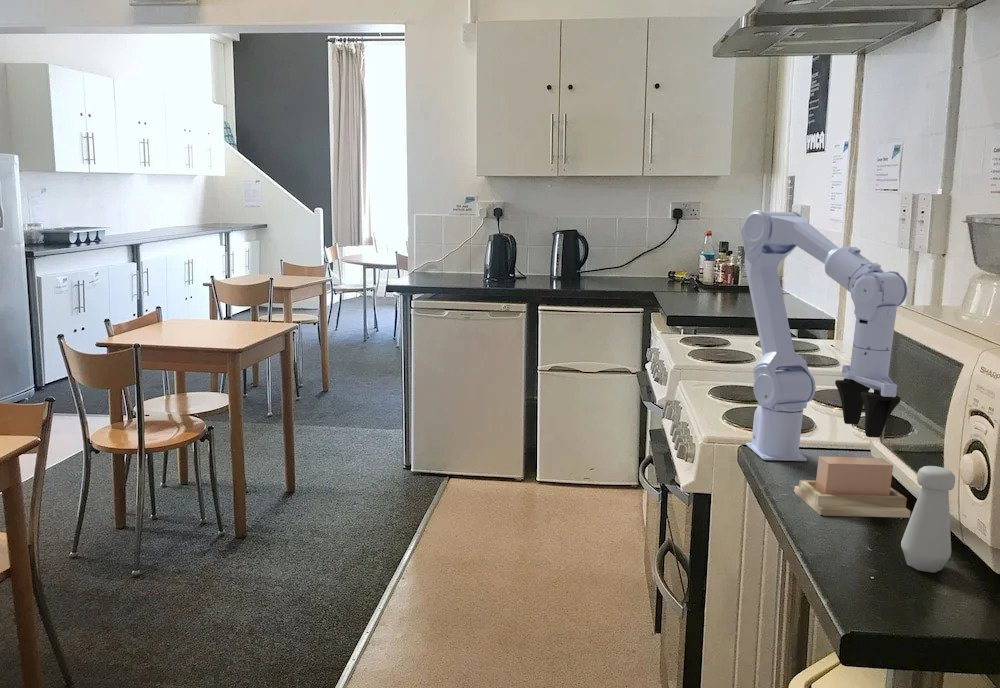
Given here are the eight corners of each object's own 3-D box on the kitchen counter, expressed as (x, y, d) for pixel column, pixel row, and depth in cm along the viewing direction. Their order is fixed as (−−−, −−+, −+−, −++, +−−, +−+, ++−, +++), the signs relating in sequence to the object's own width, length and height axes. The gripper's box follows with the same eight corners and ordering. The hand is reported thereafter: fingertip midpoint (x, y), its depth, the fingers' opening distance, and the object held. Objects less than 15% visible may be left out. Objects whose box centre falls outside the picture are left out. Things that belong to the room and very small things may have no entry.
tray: (794, 492, 139) (795, 477, 139) (877, 494, 140) (879, 479, 139) (820, 515, 129) (822, 499, 129) (909, 517, 130) (911, 501, 130)
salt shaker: (897, 568, 112) (910, 470, 109) (900, 552, 117) (912, 458, 114) (948, 579, 109) (962, 479, 107) (949, 563, 114) (963, 467, 112)
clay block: (814, 493, 136) (818, 456, 135) (877, 495, 136) (881, 458, 135) (824, 501, 132) (828, 463, 131) (888, 503, 133) (893, 465, 132)
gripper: (828, 338, 147) (819, 417, 149) (869, 355, 132) (858, 442, 135) (869, 340, 147) (859, 418, 149) (914, 356, 133) (902, 443, 135)
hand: (861, 430), depth 142 cm, fingers open, 7 cm apart
